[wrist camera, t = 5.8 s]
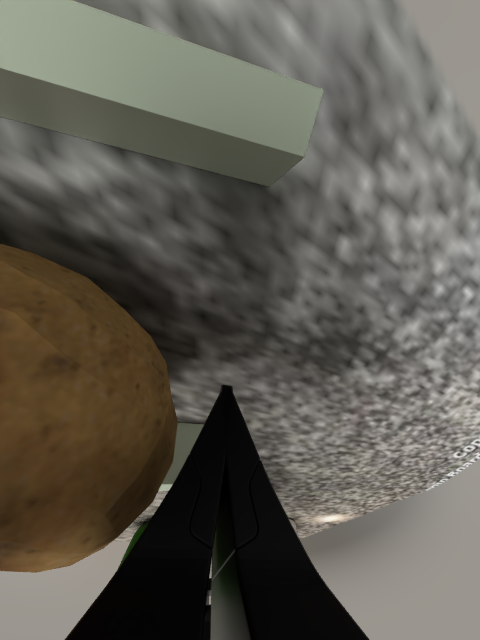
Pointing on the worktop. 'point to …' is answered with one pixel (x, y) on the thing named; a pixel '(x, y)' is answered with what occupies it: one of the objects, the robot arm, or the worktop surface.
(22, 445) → the potato
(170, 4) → the worktop surface
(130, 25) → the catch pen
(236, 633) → the robot arm
